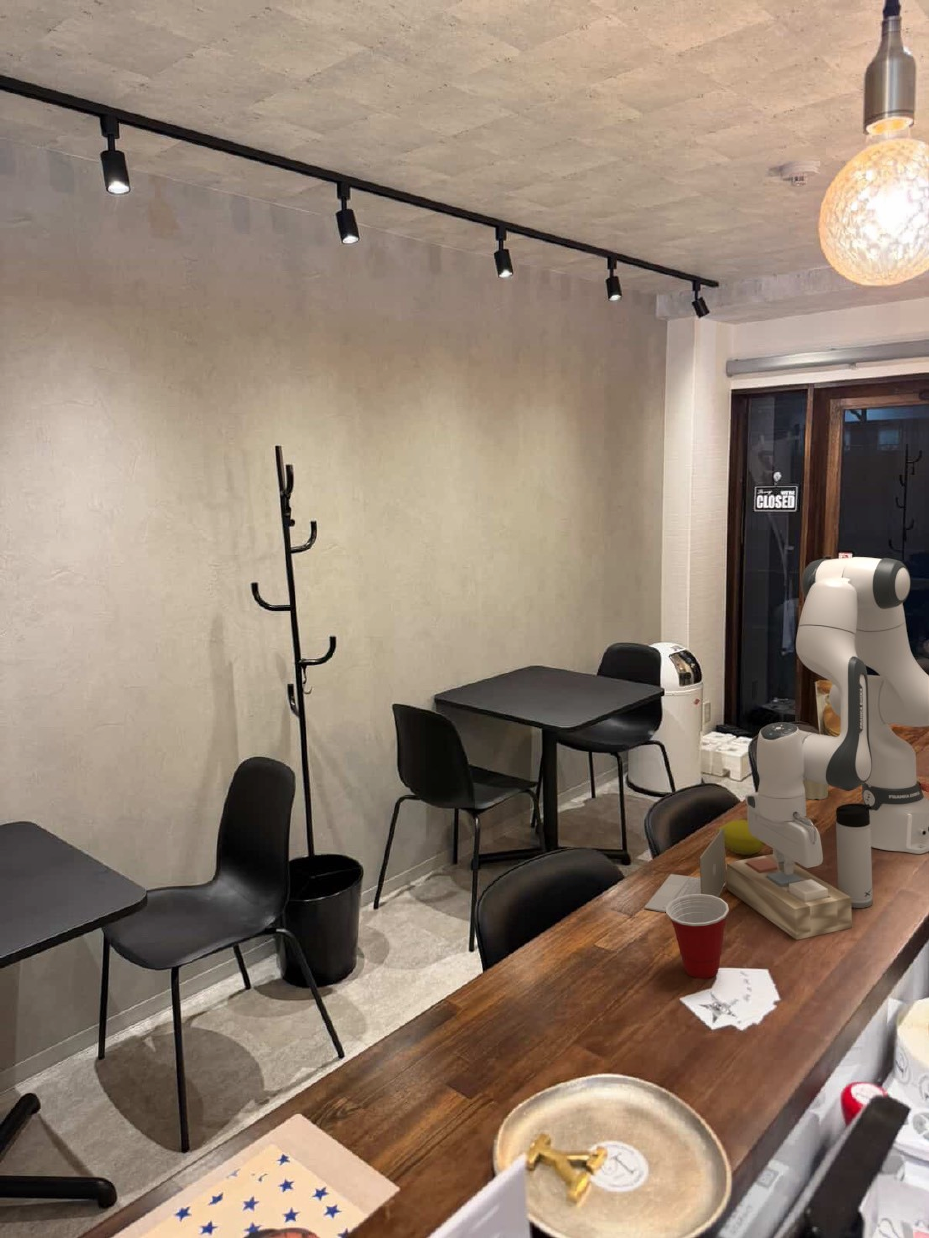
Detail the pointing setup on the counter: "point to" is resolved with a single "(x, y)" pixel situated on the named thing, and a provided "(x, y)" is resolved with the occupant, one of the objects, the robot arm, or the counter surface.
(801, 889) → the white key
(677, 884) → the laptop
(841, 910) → the key panel
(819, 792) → the flower pot
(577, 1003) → the counter surface
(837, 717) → the pancake mix bag
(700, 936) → the plastic cup
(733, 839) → the lemon
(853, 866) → the travel mug
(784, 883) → the slate key
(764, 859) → the red key
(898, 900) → the counter surface
